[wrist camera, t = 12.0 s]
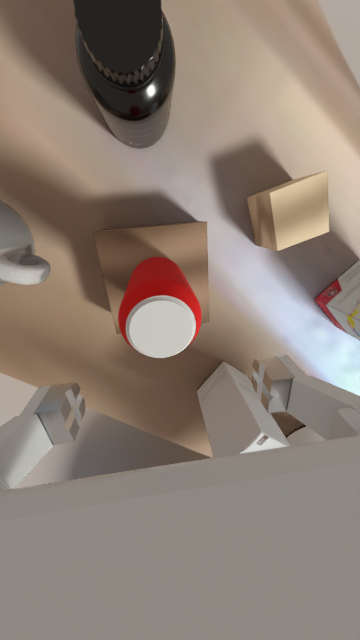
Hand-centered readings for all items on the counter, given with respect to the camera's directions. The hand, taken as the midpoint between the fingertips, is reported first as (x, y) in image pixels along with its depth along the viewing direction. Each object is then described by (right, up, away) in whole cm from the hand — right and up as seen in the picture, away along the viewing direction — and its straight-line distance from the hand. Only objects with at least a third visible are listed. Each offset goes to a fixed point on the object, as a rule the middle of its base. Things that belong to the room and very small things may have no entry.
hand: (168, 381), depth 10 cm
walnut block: (-3, +9, +20) cm, 22 cm away
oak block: (+13, +17, +18) cm, 28 cm away
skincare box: (+8, -8, +30) cm, 32 cm away
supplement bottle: (-4, +25, +12) cm, 28 cm away
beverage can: (-2, +7, +15) cm, 17 cm away
